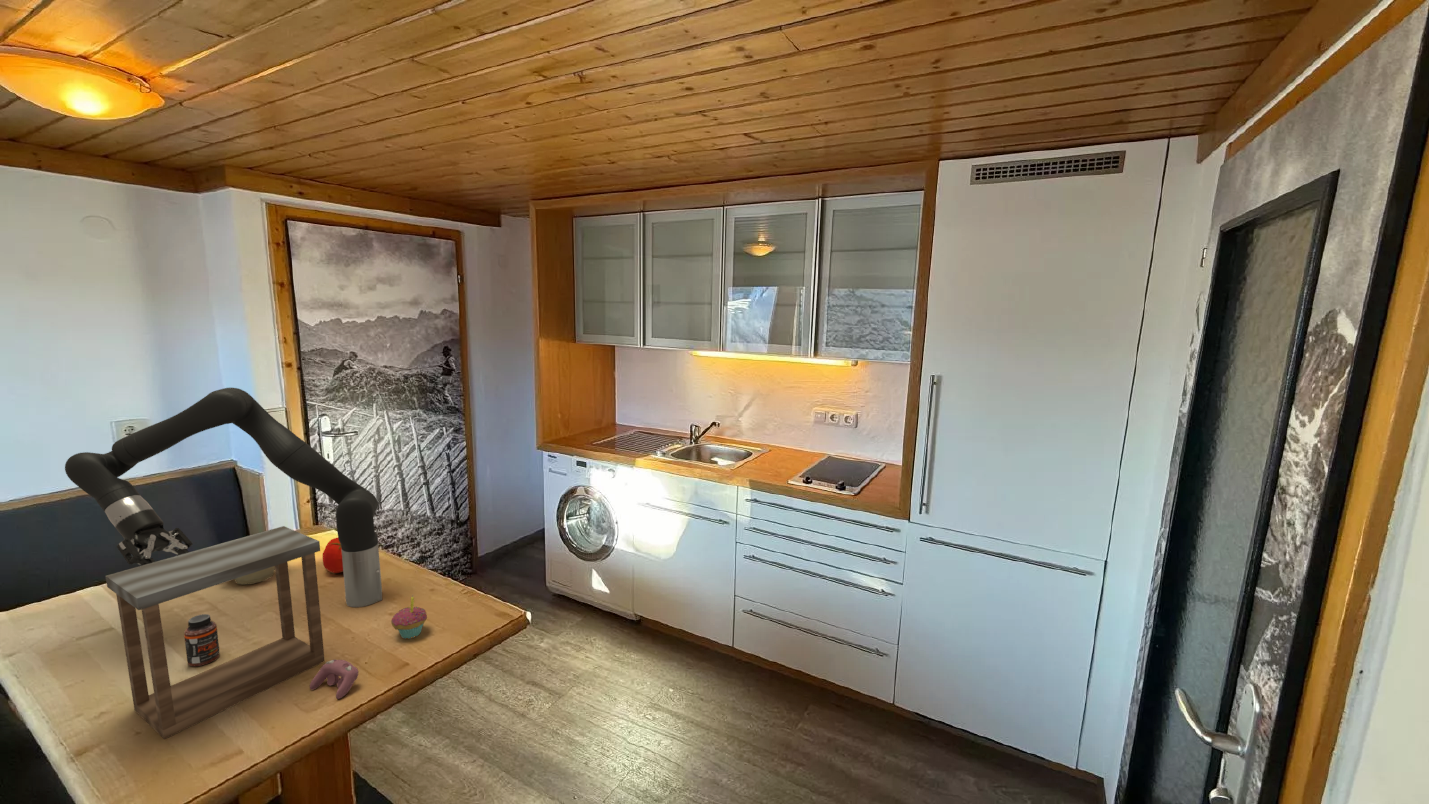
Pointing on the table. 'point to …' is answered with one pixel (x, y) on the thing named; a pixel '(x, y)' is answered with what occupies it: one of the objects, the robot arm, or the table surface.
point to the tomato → (333, 556)
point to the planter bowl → (256, 576)
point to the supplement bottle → (201, 640)
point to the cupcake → (409, 620)
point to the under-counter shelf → (240, 675)
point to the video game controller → (336, 676)
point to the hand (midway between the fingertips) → (174, 568)
